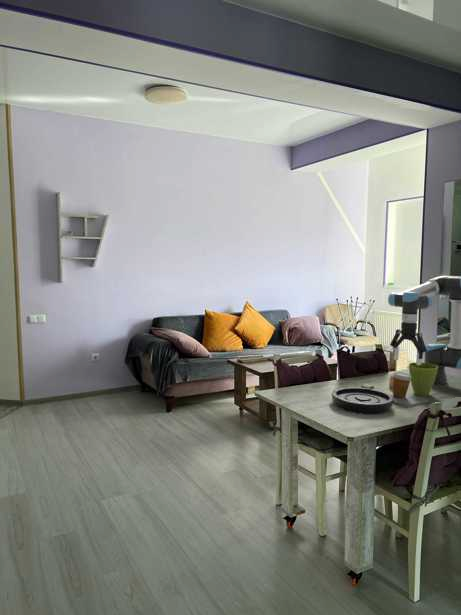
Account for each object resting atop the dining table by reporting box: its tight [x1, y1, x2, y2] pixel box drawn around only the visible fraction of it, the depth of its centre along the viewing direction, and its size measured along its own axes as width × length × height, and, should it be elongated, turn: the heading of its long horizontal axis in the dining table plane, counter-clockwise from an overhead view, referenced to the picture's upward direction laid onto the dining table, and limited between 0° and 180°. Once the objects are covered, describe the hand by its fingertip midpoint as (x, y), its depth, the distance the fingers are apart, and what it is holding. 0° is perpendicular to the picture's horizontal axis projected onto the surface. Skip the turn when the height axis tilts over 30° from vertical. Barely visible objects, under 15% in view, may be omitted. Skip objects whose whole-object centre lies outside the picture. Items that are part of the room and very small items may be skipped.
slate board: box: [391, 393, 430, 408], centre depth 249 cm, size 18×16×1 cm
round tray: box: [331, 386, 394, 415], centre depth 239 cm, size 30×6×30 cm
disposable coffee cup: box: [392, 371, 412, 398], centre depth 251 cm, size 10×10×12 cm
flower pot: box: [408, 362, 438, 397], centre depth 261 cm, size 15×15×16 cm
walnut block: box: [360, 383, 375, 389], centre depth 259 cm, size 5×5×5 cm
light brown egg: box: [388, 374, 393, 390], centre depth 273 cm, size 5×5×7 cm
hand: (407, 362), depth 247 cm, fingers open, 13 cm apart
